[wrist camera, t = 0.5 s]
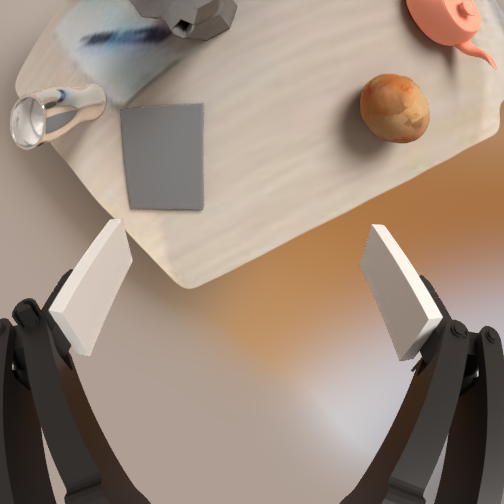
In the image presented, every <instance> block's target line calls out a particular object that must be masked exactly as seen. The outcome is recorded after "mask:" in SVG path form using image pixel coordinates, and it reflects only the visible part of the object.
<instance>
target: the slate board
mask: <svg viewBox="0 0 504 504" xmlns="http://www.w3.org/2000/svg"><path fill="white" fill-rule="evenodd" d="M121 127H122V140H123V152H124V162H125V171H126V179H127V187H128V194H129V201H130V207H131V208H142V209H202V210H203V208H204V178H203V127H204V103H195V104H171V105H156V106H145V107H135V108H127V109H122V110H121Z"/></svg>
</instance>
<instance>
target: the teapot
mask: <svg viewBox="0 0 504 504" xmlns="http://www.w3.org/2000/svg"><path fill="white" fill-rule="evenodd" d="M406 3H407V6H408V9H409V12H410V13H411V15H412V17H413V19H414V21H415V22H416V23H417V25H418V26H419V27H420V29H421V30H422V31H423V32H424V33H425V34H426V35H427V36H428V37H429V38H430V39H432V40H433V41H435V42H437V43H439V44H442V45H447V46H455V47H456V48H458V49H459V50H460V51H461V52H463V53H465V54H467V55H470V56H475V57H479V58H482V59H484V60H486V61H487V62H488V63H489V64H490V65H491V66H492V67H493V68H494V69H497V67H496V64H495V62H494V60H493V59H492V57H491V56H490V55H489V54H488V53H486V52H485V51H483V50H481V49H479V48H477V47H475V46H474V45H473V44H472V43H471V42H470V41H469V40H470V39H471V38H472V37H473V36H474V35H475V33H476V32H477V31H478V29H479V27H480V24H481V19H480V15H479V12H478V10H477V8H476V6H475V4H474V3H473V1H472V0H406Z"/></svg>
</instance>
